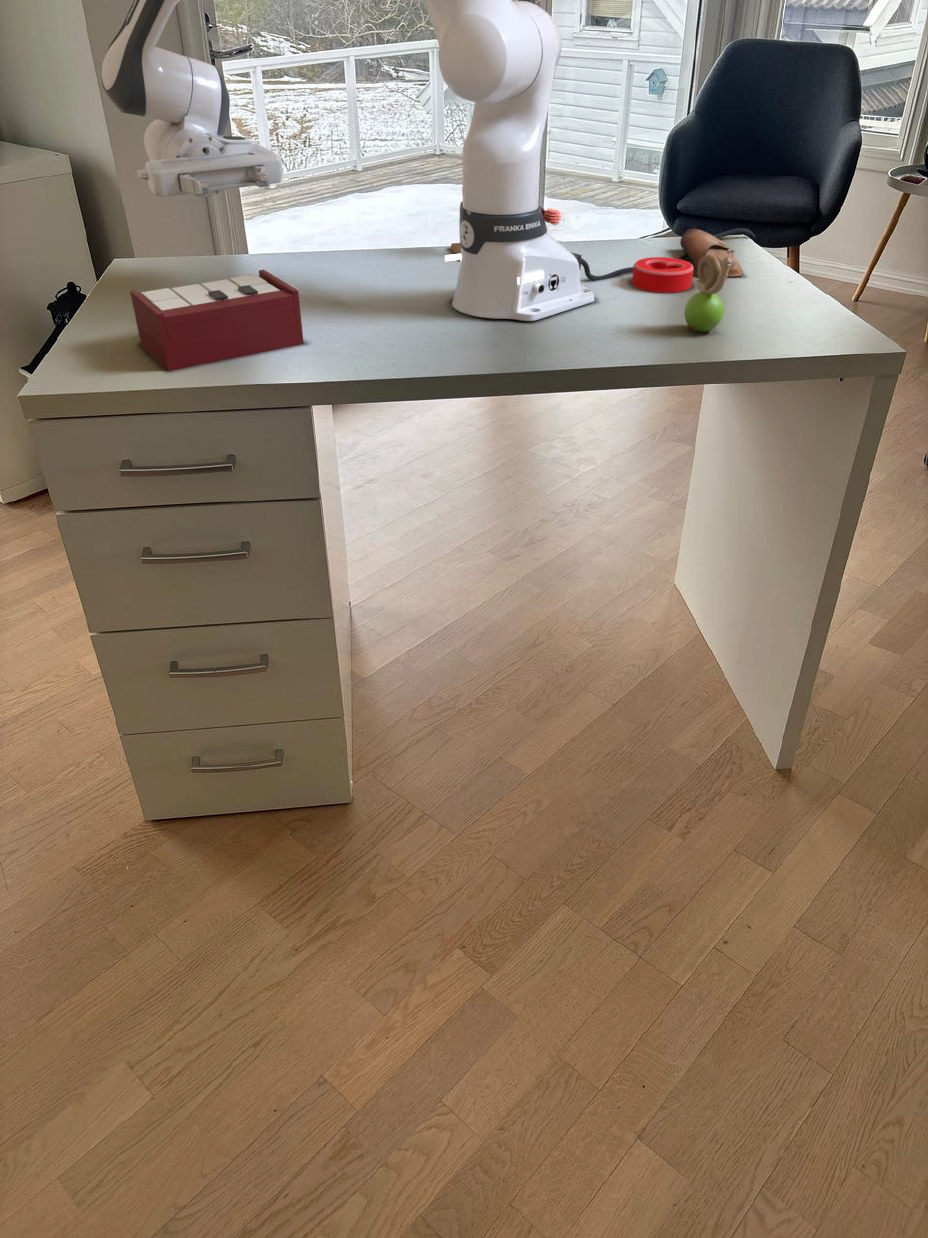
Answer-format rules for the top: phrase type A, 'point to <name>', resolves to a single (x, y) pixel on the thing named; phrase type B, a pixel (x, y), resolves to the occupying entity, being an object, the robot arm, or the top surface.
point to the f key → (159, 295)
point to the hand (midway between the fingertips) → (234, 184)
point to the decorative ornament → (662, 275)
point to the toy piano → (219, 321)
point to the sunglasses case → (708, 249)
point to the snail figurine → (708, 294)
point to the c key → (247, 280)
